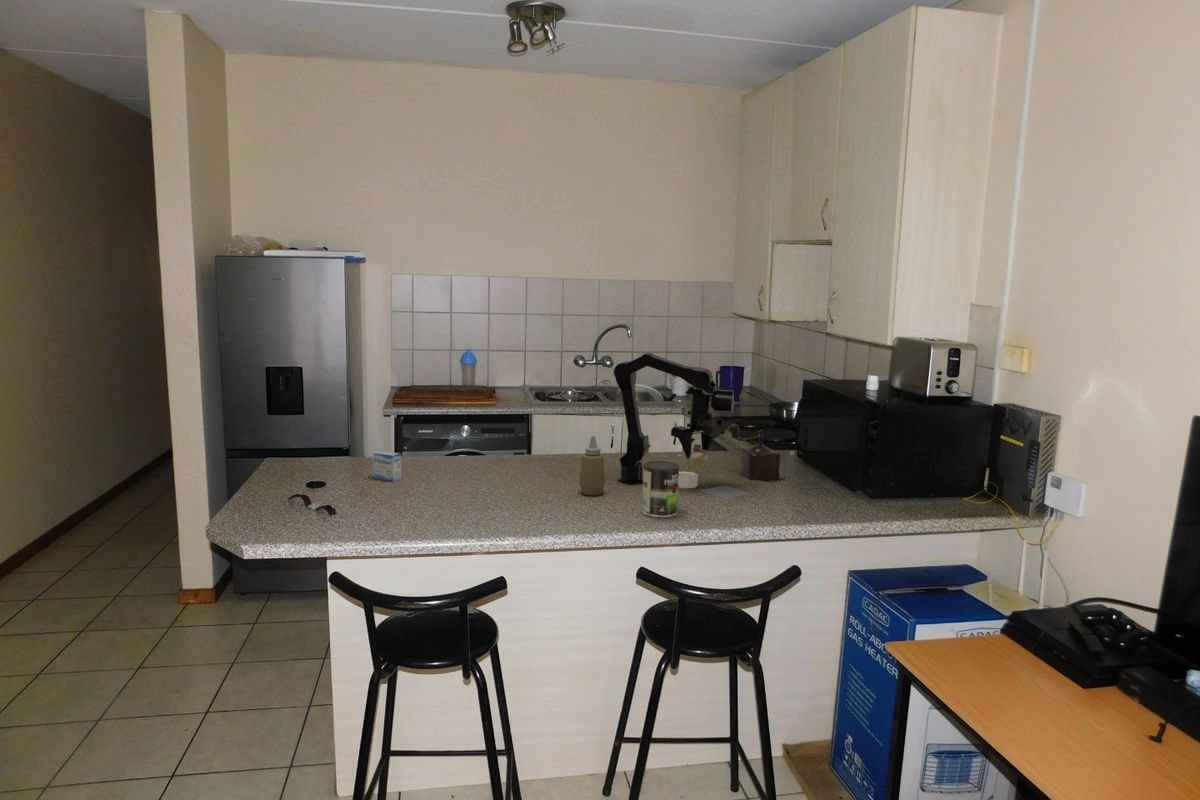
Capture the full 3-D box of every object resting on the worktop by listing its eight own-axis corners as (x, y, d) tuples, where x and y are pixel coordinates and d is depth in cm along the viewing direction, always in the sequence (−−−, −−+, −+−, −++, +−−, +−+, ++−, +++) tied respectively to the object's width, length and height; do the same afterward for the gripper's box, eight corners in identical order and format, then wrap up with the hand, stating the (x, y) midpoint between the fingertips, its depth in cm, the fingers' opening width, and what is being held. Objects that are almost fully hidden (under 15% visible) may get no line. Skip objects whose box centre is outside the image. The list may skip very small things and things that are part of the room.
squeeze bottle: (609, 491, 249) (610, 435, 246) (598, 498, 242) (599, 440, 238) (585, 488, 252) (587, 432, 249) (574, 494, 245) (575, 437, 242)
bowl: (684, 491, 251) (684, 479, 251) (667, 485, 258) (667, 473, 257) (702, 488, 256) (702, 476, 256) (685, 482, 263) (685, 470, 262)
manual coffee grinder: (764, 472, 277) (767, 421, 274) (779, 480, 267) (782, 428, 264) (723, 474, 273) (726, 423, 270) (736, 482, 263) (739, 429, 260)
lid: (696, 463, 249) (697, 448, 248) (681, 458, 254) (682, 444, 253) (711, 460, 253) (712, 446, 252) (696, 455, 258) (697, 441, 257)
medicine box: (373, 479, 257) (372, 452, 255) (381, 475, 261) (381, 450, 260) (393, 482, 254) (392, 455, 253) (401, 478, 258) (401, 452, 257)
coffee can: (684, 512, 230) (686, 465, 227) (662, 520, 222) (664, 471, 220) (656, 504, 237) (658, 458, 234) (634, 512, 229) (636, 464, 227)
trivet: (725, 500, 242) (725, 499, 242) (700, 492, 251) (700, 490, 251) (750, 495, 249) (750, 493, 249) (724, 487, 257) (724, 485, 257)
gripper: (696, 415, 239) (692, 466, 241) (739, 411, 250) (735, 459, 252) (671, 409, 247) (667, 457, 250) (714, 405, 258) (710, 451, 261)
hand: (696, 456), depth 253 cm, fingers closed on lid, 7 cm apart
